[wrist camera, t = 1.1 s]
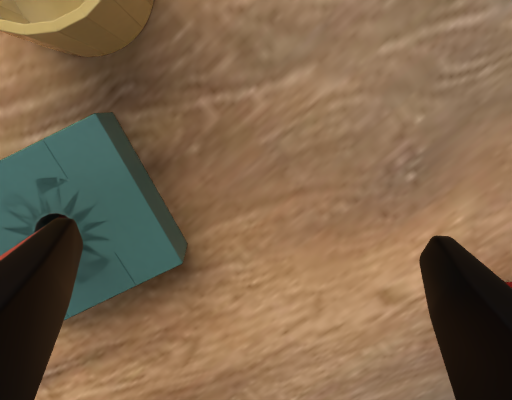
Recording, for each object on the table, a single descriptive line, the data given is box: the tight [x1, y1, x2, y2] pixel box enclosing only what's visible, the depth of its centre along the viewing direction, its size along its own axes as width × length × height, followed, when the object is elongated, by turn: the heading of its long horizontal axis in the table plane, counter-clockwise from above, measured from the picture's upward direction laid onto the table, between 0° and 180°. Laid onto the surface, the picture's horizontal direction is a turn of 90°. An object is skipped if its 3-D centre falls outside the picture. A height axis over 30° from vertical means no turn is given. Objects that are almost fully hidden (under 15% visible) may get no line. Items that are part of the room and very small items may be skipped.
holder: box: [0, 113, 187, 320], centre depth 21 cm, size 10×9×3 cm
